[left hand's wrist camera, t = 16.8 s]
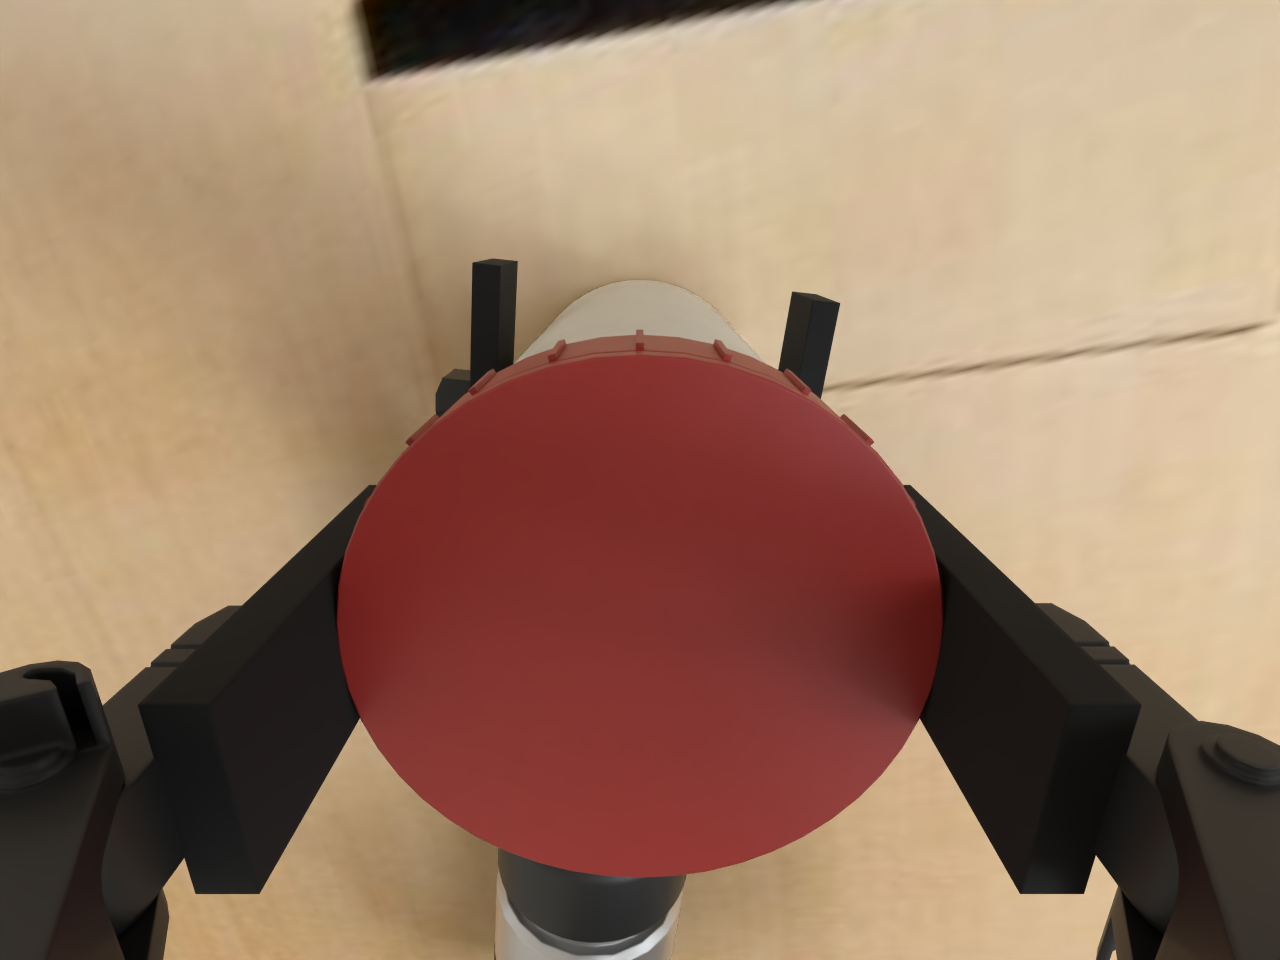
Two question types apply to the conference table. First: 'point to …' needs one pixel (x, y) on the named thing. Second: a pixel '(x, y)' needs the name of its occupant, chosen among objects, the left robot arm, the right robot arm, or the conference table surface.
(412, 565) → the lid
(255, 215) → the conference table surface
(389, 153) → the conference table surface
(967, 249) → the conference table surface
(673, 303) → the jar
